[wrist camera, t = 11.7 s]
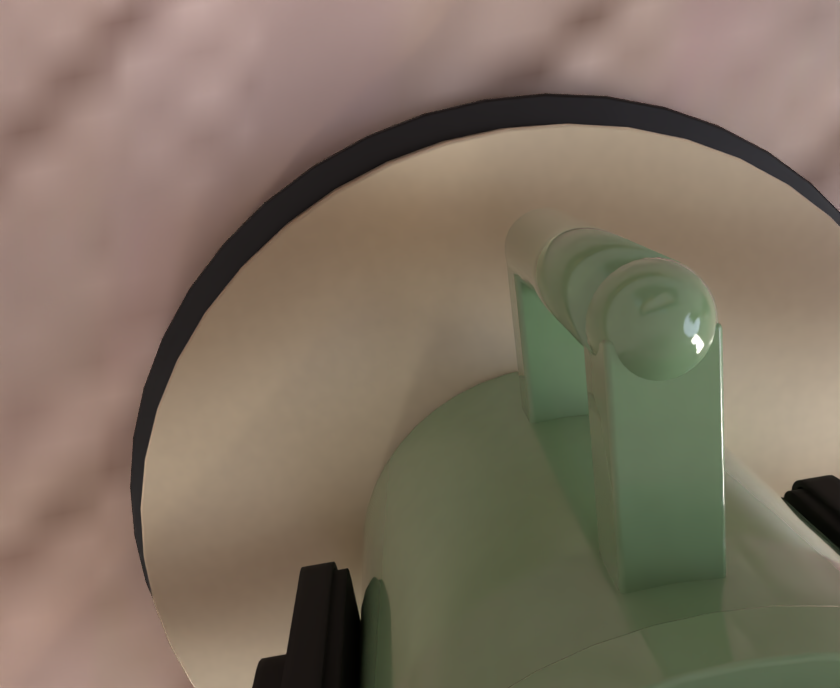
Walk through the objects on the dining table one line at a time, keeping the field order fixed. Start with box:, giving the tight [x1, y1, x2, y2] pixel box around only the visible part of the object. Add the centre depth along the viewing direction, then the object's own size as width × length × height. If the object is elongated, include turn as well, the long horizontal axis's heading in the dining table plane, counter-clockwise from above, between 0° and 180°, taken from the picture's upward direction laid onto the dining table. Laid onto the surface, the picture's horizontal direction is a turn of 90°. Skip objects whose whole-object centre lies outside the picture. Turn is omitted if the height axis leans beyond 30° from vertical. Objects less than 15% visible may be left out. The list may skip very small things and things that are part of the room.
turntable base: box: [130, 93, 840, 598], centre depth 15 cm, size 16×16×1 cm
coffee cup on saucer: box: [141, 124, 840, 688], centre depth 10 cm, size 15×15×8 cm
